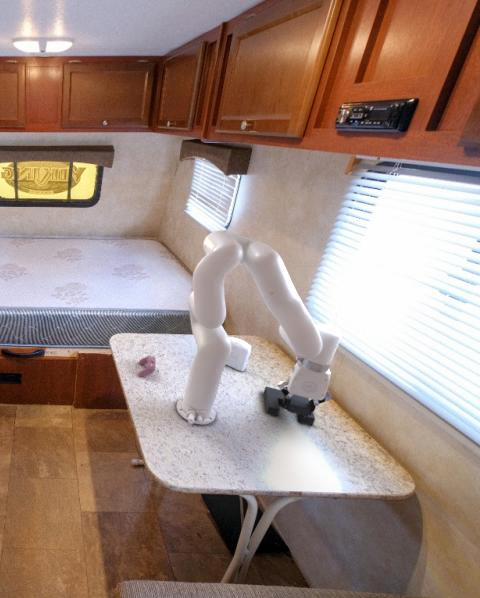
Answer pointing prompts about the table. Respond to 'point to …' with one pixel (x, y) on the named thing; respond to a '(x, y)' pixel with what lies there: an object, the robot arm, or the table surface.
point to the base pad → (281, 404)
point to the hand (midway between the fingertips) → (297, 408)
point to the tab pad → (299, 405)
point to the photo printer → (238, 354)
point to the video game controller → (148, 365)
